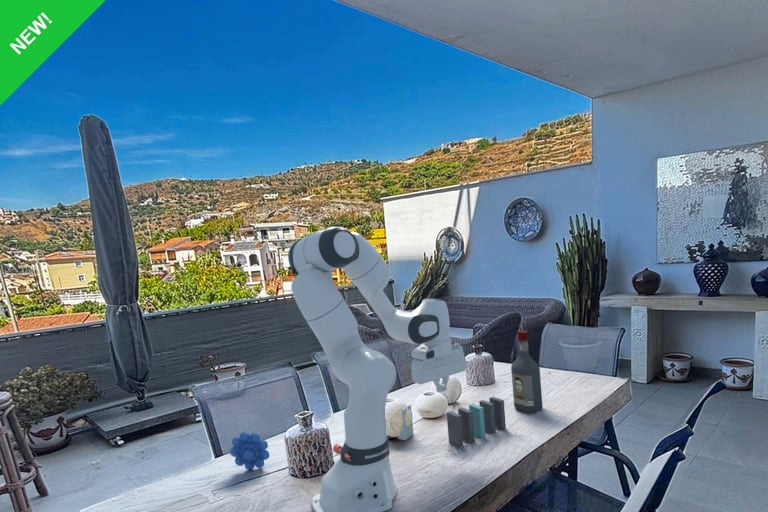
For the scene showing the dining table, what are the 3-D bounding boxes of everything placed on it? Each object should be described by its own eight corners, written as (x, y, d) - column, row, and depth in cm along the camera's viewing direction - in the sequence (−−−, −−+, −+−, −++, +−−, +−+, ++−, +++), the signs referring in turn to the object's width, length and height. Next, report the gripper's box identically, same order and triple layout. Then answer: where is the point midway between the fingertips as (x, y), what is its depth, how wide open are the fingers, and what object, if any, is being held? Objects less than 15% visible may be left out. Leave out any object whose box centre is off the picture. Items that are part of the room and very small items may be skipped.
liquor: (525, 402, 165) (519, 328, 165) (545, 408, 157) (539, 330, 158) (511, 409, 159) (505, 332, 160) (531, 415, 152) (525, 334, 152)
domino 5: (502, 430, 141) (500, 401, 141) (491, 425, 145) (489, 397, 146) (505, 428, 142) (503, 400, 142) (495, 424, 146) (492, 396, 147)
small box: (413, 434, 143) (411, 404, 143) (405, 440, 139) (403, 410, 139) (394, 430, 148) (392, 401, 148) (386, 436, 143) (383, 406, 143)
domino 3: (481, 438, 136) (479, 408, 136) (471, 433, 140) (468, 404, 140) (485, 437, 137) (483, 407, 137) (474, 432, 141) (472, 403, 141)
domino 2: (470, 443, 133) (468, 412, 133) (460, 438, 138) (457, 408, 138) (474, 441, 134) (472, 411, 134) (464, 436, 138) (461, 407, 139)
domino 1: (459, 448, 131) (456, 416, 131) (448, 442, 135) (446, 412, 135) (463, 446, 132) (461, 415, 132) (453, 441, 136) (450, 411, 136)
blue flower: (228, 480, 121) (225, 440, 121) (232, 469, 128) (230, 430, 128) (268, 473, 123) (266, 434, 123) (271, 463, 130) (268, 425, 130)
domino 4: (492, 434, 139) (490, 405, 139) (481, 429, 143) (479, 401, 143) (495, 432, 140) (493, 403, 140) (485, 428, 144) (482, 399, 144)
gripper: (455, 340, 139) (459, 381, 139) (406, 352, 128) (410, 396, 128) (468, 343, 134) (472, 385, 134) (419, 356, 123) (423, 401, 123)
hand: (441, 390), depth 131 cm, fingers closed
